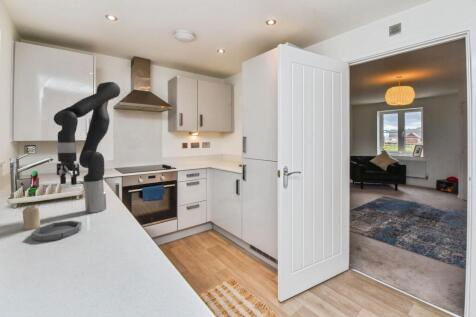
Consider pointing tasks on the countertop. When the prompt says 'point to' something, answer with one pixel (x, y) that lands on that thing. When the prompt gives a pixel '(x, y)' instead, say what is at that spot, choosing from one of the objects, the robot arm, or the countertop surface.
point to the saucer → (56, 231)
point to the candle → (31, 218)
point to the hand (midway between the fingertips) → (68, 184)
